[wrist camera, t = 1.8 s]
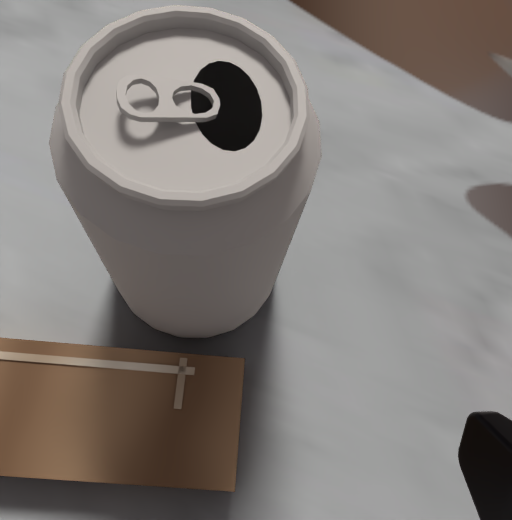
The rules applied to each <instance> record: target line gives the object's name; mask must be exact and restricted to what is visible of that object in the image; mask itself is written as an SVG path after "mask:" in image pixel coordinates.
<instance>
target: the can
mask: <svg viewBox="0 0 512 520" xmlns="http://www.w3.org/2000/svg"><path fill="white" fill-rule="evenodd" d="M49 145H50V150H51V155H52V159H53V164H54V169H55V173H56V178H57V181H58V183H59V185H60V186H61V188H62V190H63V192H64V194H65V195H66V197H67V199H68V201H69V203H70V204H71V206H72V208H73V210H74V212H75V213H76V215H77V217H78V219H79V221H80V222H81V224H82V226H83V228H84V230H85V231H86V233H87V235H88V237H89V238H90V240H91V242H92V244H93V246H94V247H95V249H96V251H97V253H98V255H99V256H100V258H101V260H102V262H103V264H104V265H105V267H106V269H107V271H108V273H109V274H110V276H111V278H112V280H113V282H114V283H115V285H116V287H117V289H118V291H119V292H120V294H121V295H122V297H123V298H124V300H125V301H126V303H127V304H128V306H129V307H130V309H131V310H132V312H133V313H134V314H135V315H137V316H138V317H139V318H141V319H142V320H143V321H144V322H146V323H147V324H148V325H150V326H151V327H152V328H154V329H156V330H159V331H162V332H165V333H168V334H171V335H174V336H177V337H180V338H209V337H212V336H215V335H218V334H222V333H225V332H228V331H232V330H234V329H235V328H237V327H238V326H240V325H241V324H243V323H244V322H246V321H247V320H248V319H250V318H251V317H253V316H254V315H255V314H256V313H257V311H258V310H259V309H260V307H261V306H262V305H263V303H264V302H265V301H266V299H267V298H268V297H269V295H270V293H271V291H272V288H273V286H274V283H275V281H276V278H277V275H278V273H279V270H280V268H281V265H282V263H283V260H284V258H285V255H286V252H287V250H288V247H289V245H290V242H291V240H292V237H293V235H294V232H295V229H296V227H297V224H298V222H299V219H300V217H301V214H302V212H303V209H304V206H305V204H306V201H307V199H308V196H309V194H310V191H311V188H312V185H313V182H314V179H315V176H316V172H317V169H318V166H319V163H320V160H321V157H322V154H321V139H320V124H319V120H318V118H317V115H316V113H315V111H314V109H313V106H312V104H311V102H310V100H309V97H308V88H307V85H306V83H305V81H304V79H303V76H302V74H301V72H300V70H299V68H298V65H297V63H296V61H295V59H294V58H293V57H292V56H291V55H290V54H289V53H288V52H287V51H286V50H285V49H284V47H283V46H282V45H281V44H280V43H279V42H278V41H277V40H276V39H275V38H274V37H273V36H272V35H270V34H269V33H267V32H265V31H264V30H262V29H261V28H259V27H257V26H256V25H254V24H252V23H251V22H249V21H248V20H246V19H244V18H241V17H238V16H235V15H232V14H229V13H225V12H222V11H219V10H216V9H213V8H208V7H195V6H181V5H172V6H166V7H160V8H153V9H147V10H141V11H138V12H136V13H133V14H131V15H129V16H126V17H124V18H122V19H119V20H117V21H115V22H112V23H110V24H108V25H106V26H105V27H104V28H103V29H101V30H100V31H99V32H98V33H96V34H95V35H94V36H93V37H92V38H90V39H89V40H88V41H87V42H85V43H84V44H83V45H82V46H81V47H80V48H79V50H78V52H77V53H76V55H75V56H74V58H73V60H72V61H71V63H70V64H69V66H68V68H67V69H66V71H65V72H64V75H63V80H62V86H61V91H60V97H59V102H58V104H57V106H56V108H55V113H54V119H53V124H52V130H51V135H50V140H49Z"/></svg>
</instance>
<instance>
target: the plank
mask: <svg viewBox="0 0 512 520" xmlns="http://www.w3.org/2000/svg"><path fill="white" fill-rule="evenodd" d="M244 363H245V358H234V357H222V356H211V355H199V354H187V353H175V352H163V351H151V350H140V349H128V348H116V347H104V346H92V345H80V344H69V343H57V342H45V341H33V340H21V339H9V338H0V476H11V477H26V478H40V479H55V480H70V481H84V482H99V483H114V484H129V485H143V486H158V487H173V488H187V489H202V490H217V491H232V492H235V482H236V469H237V456H238V443H239V429H240V416H241V403H242V390H243V377H244Z"/></svg>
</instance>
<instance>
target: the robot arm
mask: <svg viewBox="0 0 512 520" xmlns="http://www.w3.org/2000/svg"><path fill="white" fill-rule="evenodd" d="M458 458H459V464H460V467H461V470H462V473H463V475H464V478H465V481H466V483H467V486H468V488H469V491H470V494H471V496H472V499H473V502H474V504H475V507H476V510H477V512H478V515H479V518H480V520H512V421H511V420H510V419H508V418H507V417H505V416H503V415H502V414H500V413H498V412H493V411H488V412H473V413H471V414H470V415H469V416H468V418H467V421H466V424H465V428H464V432H463V435H462V439H461V443H460V446H459V451H458Z"/></svg>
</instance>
